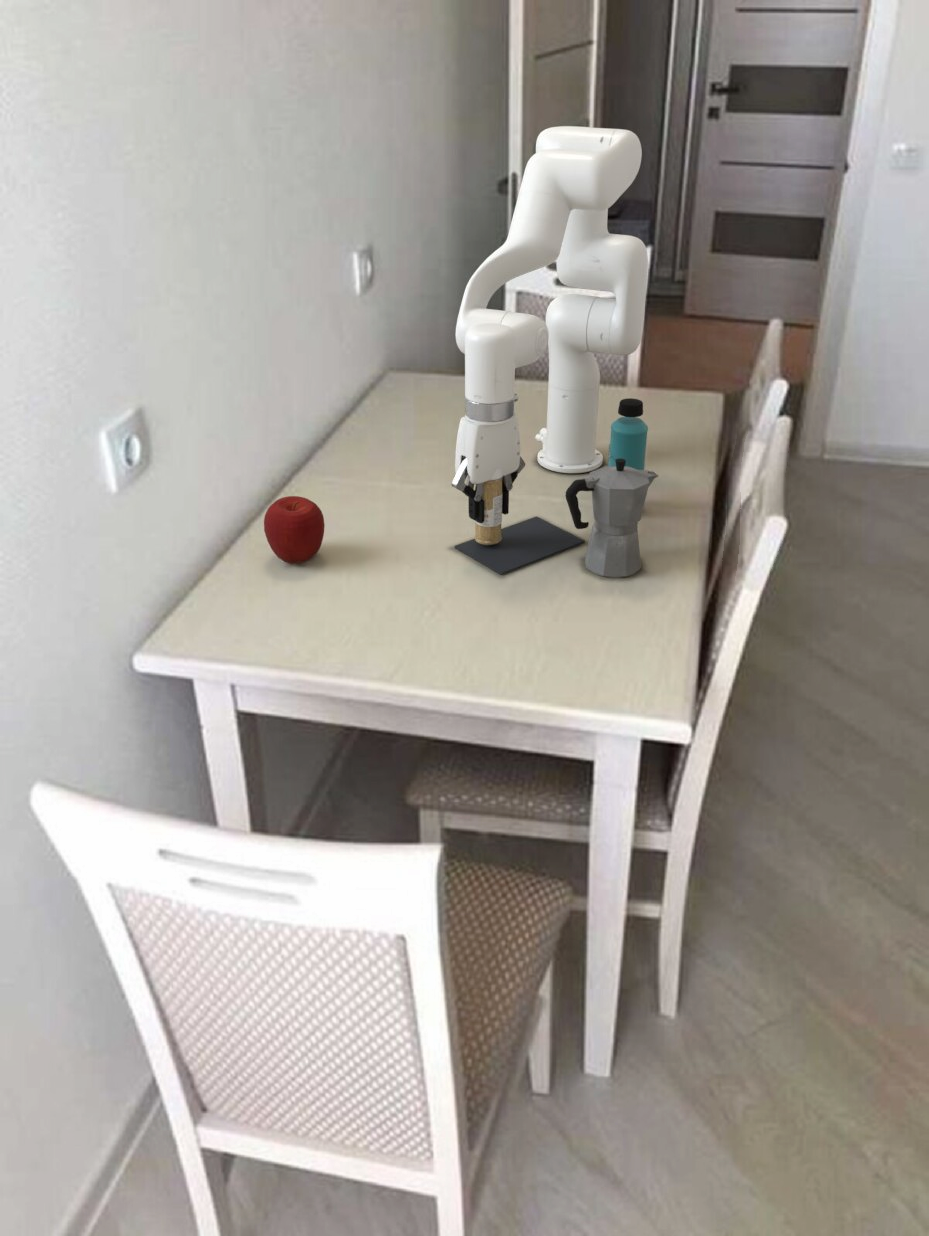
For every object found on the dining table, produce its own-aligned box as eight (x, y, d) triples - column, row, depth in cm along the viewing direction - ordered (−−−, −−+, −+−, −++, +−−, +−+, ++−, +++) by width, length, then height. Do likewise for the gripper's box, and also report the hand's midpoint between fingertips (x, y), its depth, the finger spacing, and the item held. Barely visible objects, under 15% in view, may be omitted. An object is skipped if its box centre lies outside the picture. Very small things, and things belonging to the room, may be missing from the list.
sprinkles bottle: (468, 540, 173) (468, 464, 166) (486, 530, 176) (487, 455, 169) (490, 548, 171) (491, 471, 164) (508, 539, 174) (509, 462, 167)
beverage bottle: (644, 505, 188) (654, 396, 177) (637, 520, 182) (647, 409, 172) (608, 500, 189) (616, 392, 179) (600, 515, 184) (608, 404, 174)
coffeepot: (635, 545, 174) (644, 442, 165) (663, 571, 166) (675, 464, 157) (549, 560, 170) (554, 455, 160) (574, 587, 162) (581, 478, 153)
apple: (278, 577, 165) (272, 518, 160) (259, 552, 172) (253, 495, 167) (335, 563, 169) (331, 506, 164) (314, 539, 176) (309, 484, 171)
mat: (454, 547, 173) (454, 545, 173) (536, 518, 183) (536, 516, 183) (501, 575, 165) (501, 573, 165) (584, 542, 175) (585, 540, 175)
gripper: (515, 389, 169) (513, 494, 178) (430, 413, 160) (433, 522, 169) (547, 402, 164) (543, 509, 173) (461, 427, 155) (461, 538, 164)
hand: (488, 514), depth 171 cm, fingers closed on sprinkles bottle, 4 cm apart
